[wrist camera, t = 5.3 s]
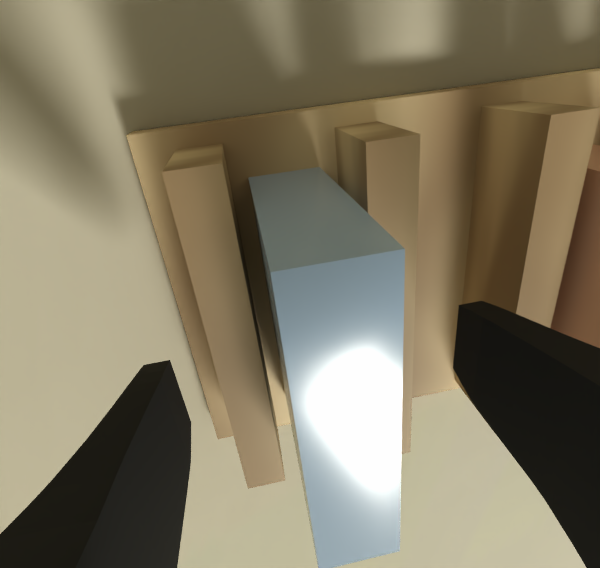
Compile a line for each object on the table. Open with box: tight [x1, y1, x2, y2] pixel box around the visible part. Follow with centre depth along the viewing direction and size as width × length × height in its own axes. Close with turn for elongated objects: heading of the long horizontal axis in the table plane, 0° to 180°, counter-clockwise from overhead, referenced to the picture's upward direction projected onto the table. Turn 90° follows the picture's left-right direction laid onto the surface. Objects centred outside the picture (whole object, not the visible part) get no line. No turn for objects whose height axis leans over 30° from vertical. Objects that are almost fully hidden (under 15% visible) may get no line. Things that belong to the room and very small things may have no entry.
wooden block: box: [550, 144, 600, 348], centre depth 12 cm, size 2×7×4 cm, turn 6°
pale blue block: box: [248, 167, 405, 568], centre depth 10 cm, size 2×8×6 cm, turn 7°
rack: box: [126, 68, 600, 488], centre depth 12 cm, size 16×11×4 cm
